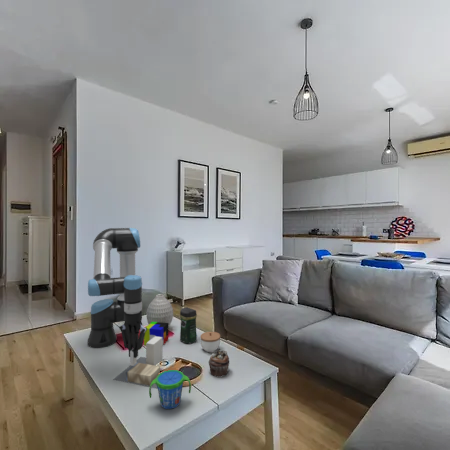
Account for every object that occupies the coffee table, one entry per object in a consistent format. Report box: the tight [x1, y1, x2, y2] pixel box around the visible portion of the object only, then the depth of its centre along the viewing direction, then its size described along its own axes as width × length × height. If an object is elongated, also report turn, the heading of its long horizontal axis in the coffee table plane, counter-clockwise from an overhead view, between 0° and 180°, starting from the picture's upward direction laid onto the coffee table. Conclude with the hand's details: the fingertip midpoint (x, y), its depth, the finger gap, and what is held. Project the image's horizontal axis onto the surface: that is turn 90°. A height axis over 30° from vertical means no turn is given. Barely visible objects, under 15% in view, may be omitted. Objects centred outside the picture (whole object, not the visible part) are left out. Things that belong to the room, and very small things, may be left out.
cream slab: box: [145, 336, 164, 366], centre depth 132 cm, size 4×8×12 cm, turn 163°
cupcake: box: [208, 348, 230, 378], centre depth 127 cm, size 10×10×10 cm
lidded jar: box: [199, 331, 221, 354], centre depth 149 cm, size 11×11×9 cm
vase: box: [146, 293, 174, 328], centre depth 174 cm, size 16×16×22 cm
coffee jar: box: [179, 306, 198, 344], centre depth 160 cm, size 10×8×19 cm
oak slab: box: [126, 363, 160, 386], centre depth 122 cm, size 4×8×12 cm
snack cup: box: [148, 370, 192, 410], centre depth 106 cm, size 16×10×10 cm
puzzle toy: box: [143, 322, 169, 346], centre depth 157 cm, size 10×10×10 cm
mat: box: [112, 356, 158, 390], centre depth 127 cm, size 26×21×1 cm
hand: (133, 364), depth 123 cm, fingers closed
